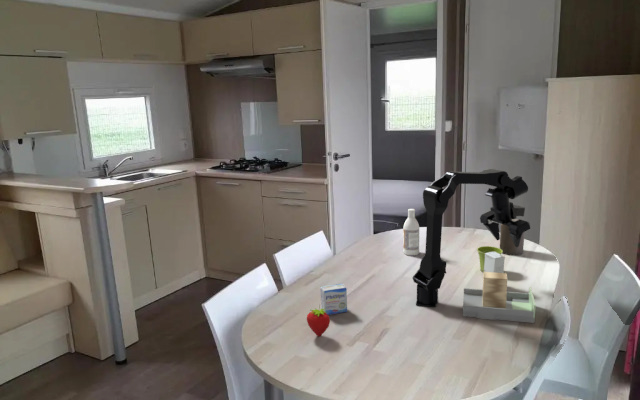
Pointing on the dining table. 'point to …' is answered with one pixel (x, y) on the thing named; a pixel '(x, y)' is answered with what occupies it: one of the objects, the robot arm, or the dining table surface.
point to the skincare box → (494, 262)
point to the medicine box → (334, 299)
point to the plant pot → (484, 250)
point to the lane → (516, 308)
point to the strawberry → (318, 321)
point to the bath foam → (411, 234)
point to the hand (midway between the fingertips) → (507, 243)
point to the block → (494, 290)
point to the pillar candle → (510, 242)
